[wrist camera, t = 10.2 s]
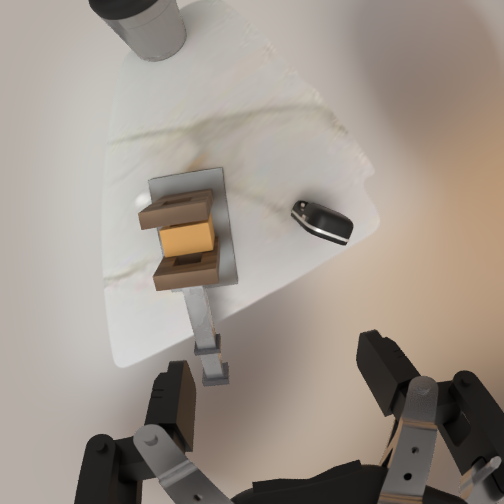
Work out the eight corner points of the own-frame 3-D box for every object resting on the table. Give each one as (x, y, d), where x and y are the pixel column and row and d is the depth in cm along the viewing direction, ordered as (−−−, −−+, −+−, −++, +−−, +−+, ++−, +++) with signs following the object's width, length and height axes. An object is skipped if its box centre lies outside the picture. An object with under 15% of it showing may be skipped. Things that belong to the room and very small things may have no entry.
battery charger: (332, 207, 47) (361, 224, 36) (324, 227, 48) (350, 249, 37) (296, 193, 45) (317, 206, 35) (288, 214, 47) (307, 233, 36)
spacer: (168, 219, 44) (159, 231, 37) (210, 212, 44) (208, 222, 37) (173, 242, 45) (165, 257, 39) (214, 235, 45) (213, 250, 39)
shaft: (176, 263, 39) (171, 275, 35) (206, 259, 40) (204, 271, 35) (204, 369, 47) (203, 386, 43) (228, 366, 47) (229, 384, 43)
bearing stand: (150, 179, 42) (117, 191, 29) (221, 167, 43) (219, 172, 29) (172, 289, 49) (156, 336, 36) (237, 281, 50) (242, 327, 36)
